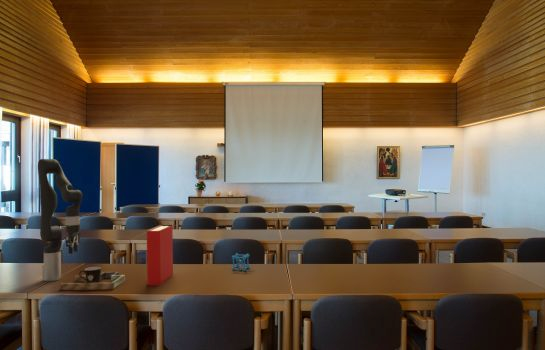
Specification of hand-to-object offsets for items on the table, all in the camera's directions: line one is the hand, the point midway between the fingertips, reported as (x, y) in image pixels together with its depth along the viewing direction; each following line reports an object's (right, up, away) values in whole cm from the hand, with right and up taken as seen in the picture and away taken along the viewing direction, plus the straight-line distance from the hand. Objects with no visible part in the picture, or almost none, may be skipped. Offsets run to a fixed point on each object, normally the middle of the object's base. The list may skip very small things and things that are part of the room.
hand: (73, 252), depth 242 cm
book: (+48, -19, +12) cm, 53 cm away
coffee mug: (+11, -20, 0) cm, 22 cm away
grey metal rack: (+12, -19, +4) cm, 23 cm away
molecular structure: (+96, -19, +36) cm, 104 cm away
